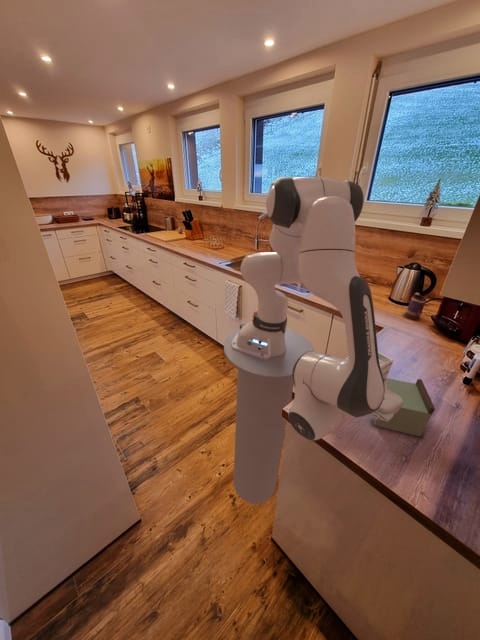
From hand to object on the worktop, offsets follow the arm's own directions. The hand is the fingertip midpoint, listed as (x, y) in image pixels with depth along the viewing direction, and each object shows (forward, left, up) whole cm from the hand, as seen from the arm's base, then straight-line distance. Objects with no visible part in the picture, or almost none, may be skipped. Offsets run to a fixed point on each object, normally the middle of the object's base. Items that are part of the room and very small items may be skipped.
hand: (372, 373), depth 71 cm
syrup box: (-1, -1, -8) cm, 9 cm away
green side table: (+10, +4, -17) cm, 20 cm away
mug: (+34, +82, -17) cm, 91 cm away
